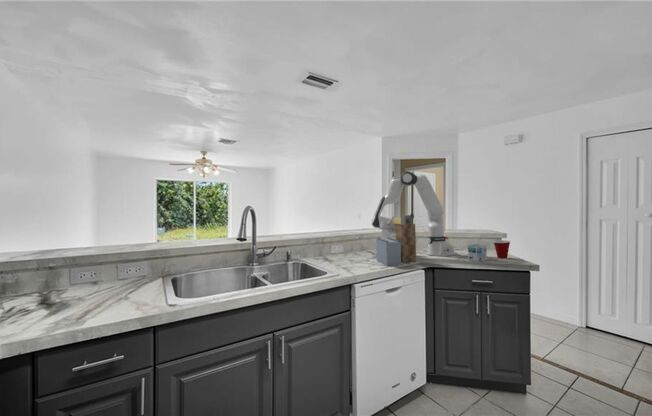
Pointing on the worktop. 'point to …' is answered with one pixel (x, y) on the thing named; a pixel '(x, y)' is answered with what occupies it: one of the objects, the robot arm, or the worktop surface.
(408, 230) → the walnut post
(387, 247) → the slate ledge
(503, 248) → the plastic cup
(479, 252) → the light bulb box
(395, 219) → the ochre bar
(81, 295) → the worktop surface
